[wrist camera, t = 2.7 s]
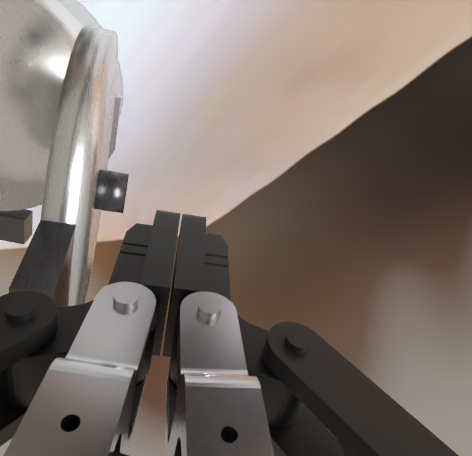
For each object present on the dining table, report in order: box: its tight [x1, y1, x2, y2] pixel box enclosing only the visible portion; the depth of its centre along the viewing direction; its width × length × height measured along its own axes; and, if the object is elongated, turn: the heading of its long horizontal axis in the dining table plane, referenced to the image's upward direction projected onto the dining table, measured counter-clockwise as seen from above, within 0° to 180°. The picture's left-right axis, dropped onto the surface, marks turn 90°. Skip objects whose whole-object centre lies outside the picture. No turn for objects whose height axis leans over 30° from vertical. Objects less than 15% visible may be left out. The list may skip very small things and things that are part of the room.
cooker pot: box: [0, 0, 123, 244], centre depth 38 cm, size 20×27×12 cm
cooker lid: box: [9, 25, 128, 307], centre depth 25 cm, size 23×19×3 cm
